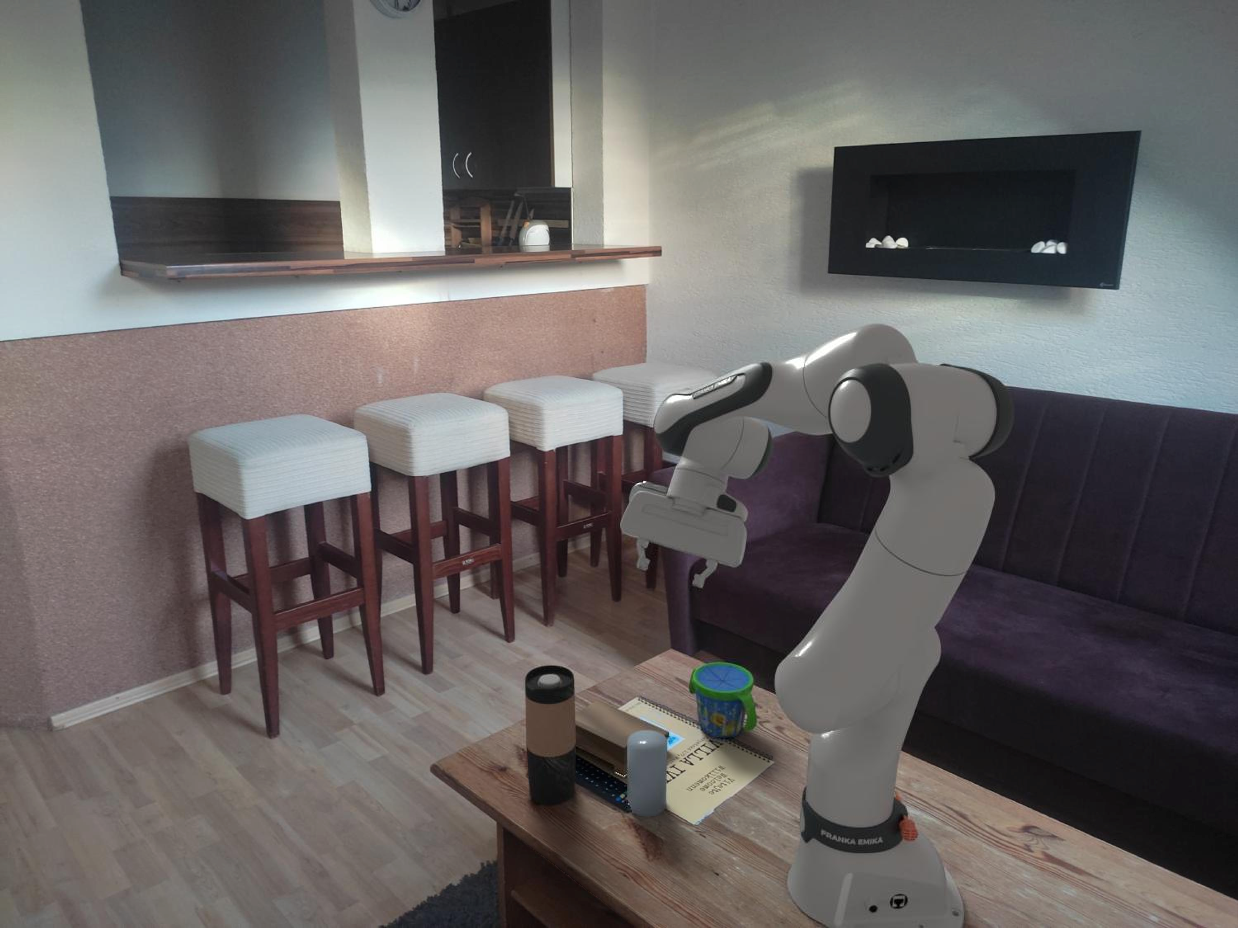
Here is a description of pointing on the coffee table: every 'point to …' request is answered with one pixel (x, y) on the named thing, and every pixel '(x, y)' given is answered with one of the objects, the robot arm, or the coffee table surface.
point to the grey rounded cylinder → (647, 772)
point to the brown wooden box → (609, 732)
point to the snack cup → (723, 698)
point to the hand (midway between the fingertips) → (668, 577)
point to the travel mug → (550, 733)
